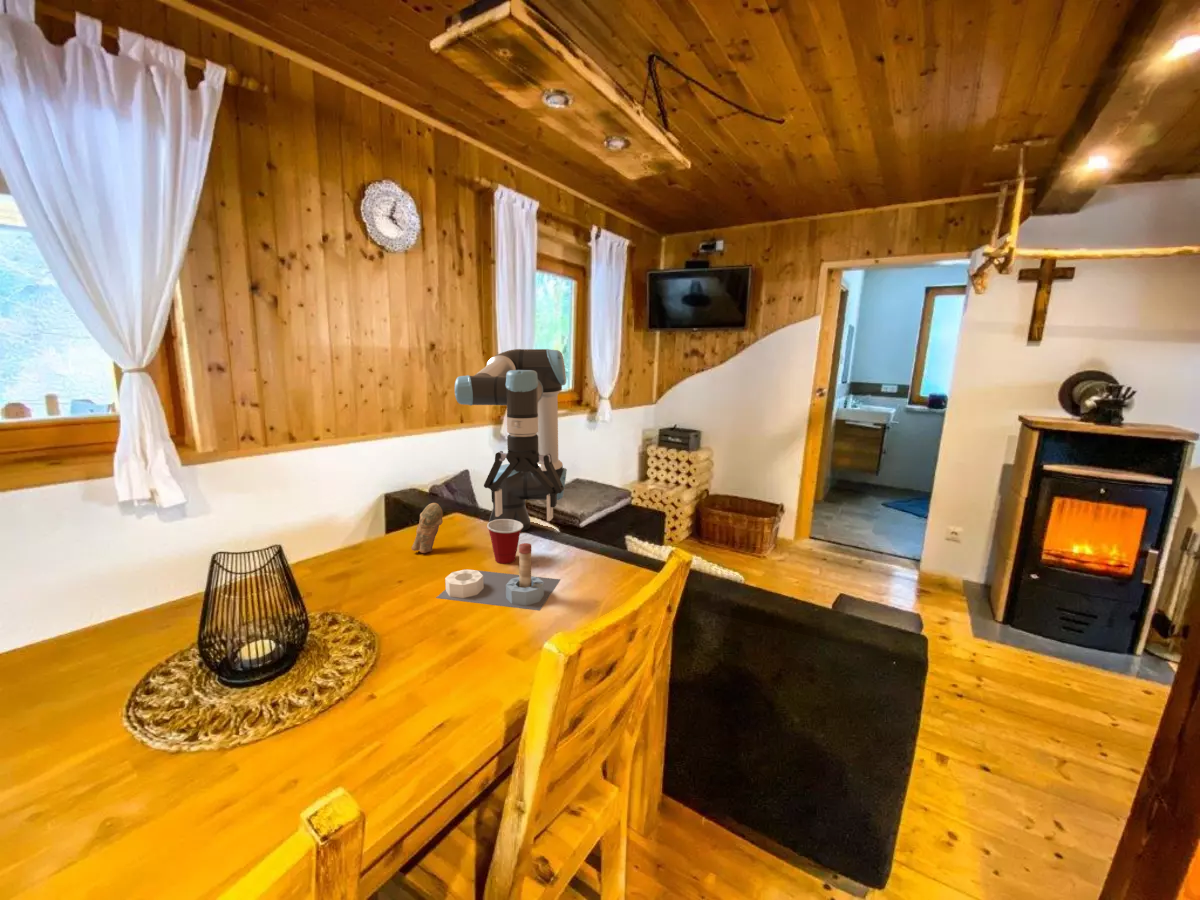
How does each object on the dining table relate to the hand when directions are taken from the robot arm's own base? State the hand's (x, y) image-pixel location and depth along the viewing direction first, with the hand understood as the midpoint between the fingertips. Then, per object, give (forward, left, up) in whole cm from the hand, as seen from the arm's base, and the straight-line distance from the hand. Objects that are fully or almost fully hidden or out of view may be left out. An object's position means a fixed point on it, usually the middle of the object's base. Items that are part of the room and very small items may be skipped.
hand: (524, 517), depth 125 cm
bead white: (0, -17, -21) cm, 27 cm away
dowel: (0, 0, -21) cm, 21 cm away
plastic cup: (-21, -14, -22) cm, 33 cm away
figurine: (-23, -41, -22) cm, 52 cm away
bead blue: (0, 0, -21) cm, 21 cm away
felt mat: (-3, -8, -22) cm, 23 cm away
